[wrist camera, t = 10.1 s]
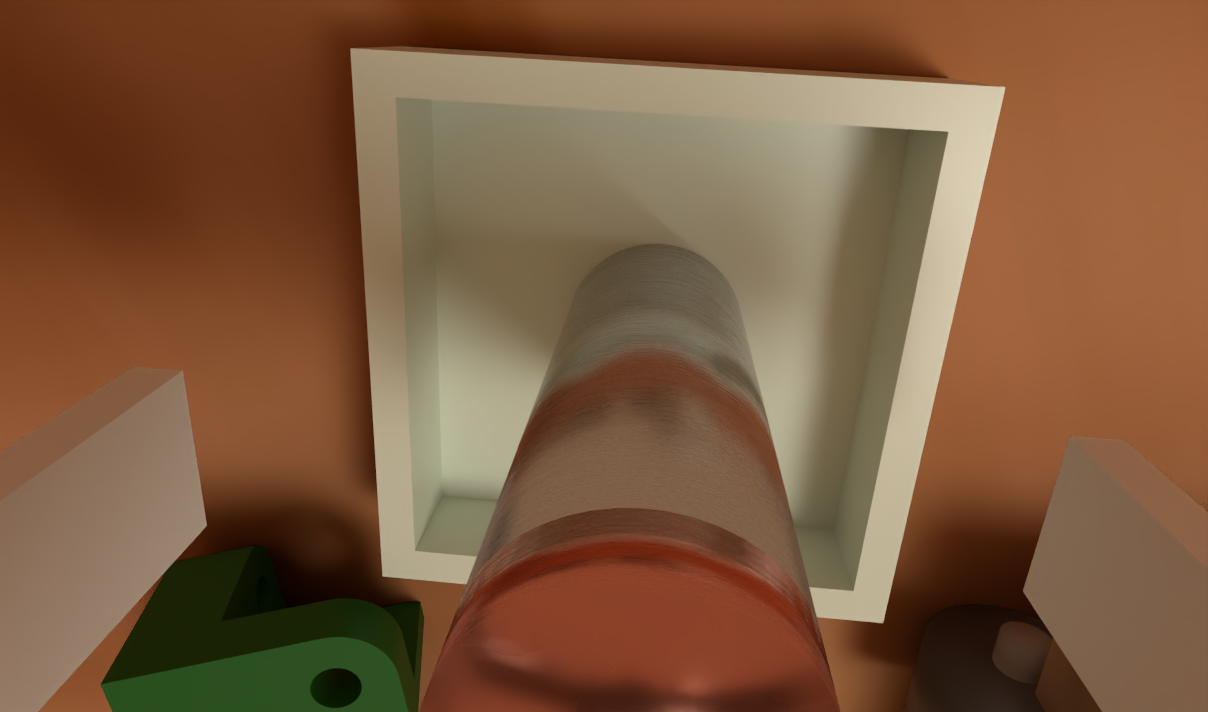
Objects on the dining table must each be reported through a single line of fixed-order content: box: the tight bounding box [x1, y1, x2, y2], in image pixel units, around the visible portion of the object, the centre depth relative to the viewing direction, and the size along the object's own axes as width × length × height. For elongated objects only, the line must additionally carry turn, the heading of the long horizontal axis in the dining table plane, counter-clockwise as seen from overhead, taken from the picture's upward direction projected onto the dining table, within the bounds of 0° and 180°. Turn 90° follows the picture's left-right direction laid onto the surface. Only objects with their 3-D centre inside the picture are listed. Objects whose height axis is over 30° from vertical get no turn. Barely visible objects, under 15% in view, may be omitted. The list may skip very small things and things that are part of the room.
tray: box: [350, 46, 1005, 623], centre depth 18 cm, size 12×12×3 cm
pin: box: [421, 244, 840, 712], centre depth 13 cm, size 4×4×12 cm
